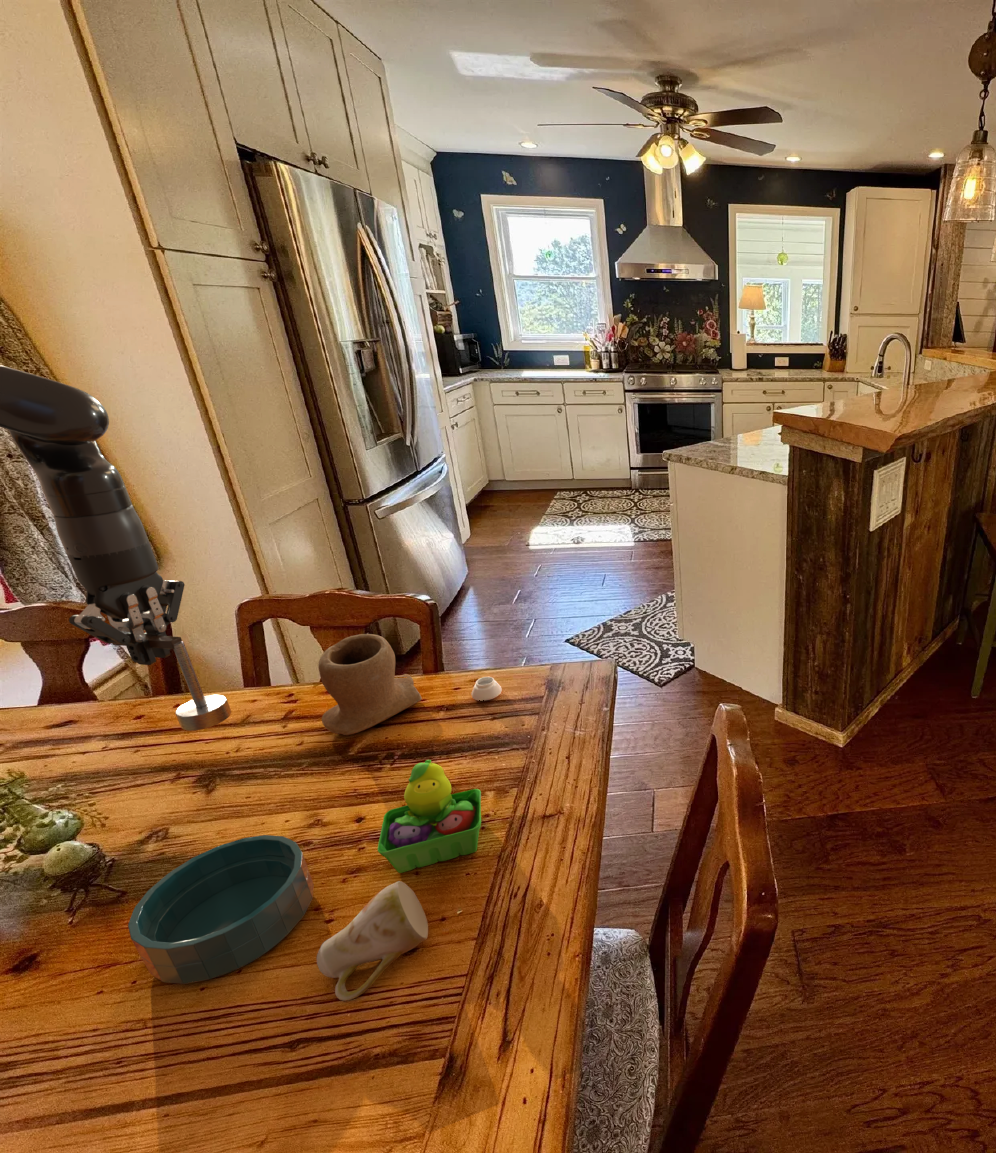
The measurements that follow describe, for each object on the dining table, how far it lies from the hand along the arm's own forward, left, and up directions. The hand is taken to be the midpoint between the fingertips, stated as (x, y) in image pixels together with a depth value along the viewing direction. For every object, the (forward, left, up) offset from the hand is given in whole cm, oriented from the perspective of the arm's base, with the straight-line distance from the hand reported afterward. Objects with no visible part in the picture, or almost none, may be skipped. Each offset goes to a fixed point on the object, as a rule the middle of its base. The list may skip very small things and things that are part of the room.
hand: (154, 659), depth 86 cm
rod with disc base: (+1, 0, -10) cm, 10 cm away
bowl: (+29, -24, -19) cm, 42 cm away
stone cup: (+19, +15, -19) cm, 30 cm away
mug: (+47, -26, -19) cm, 57 cm away
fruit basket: (+45, -11, -19) cm, 50 cm away
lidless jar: (+34, +23, -19) cm, 45 cm away
